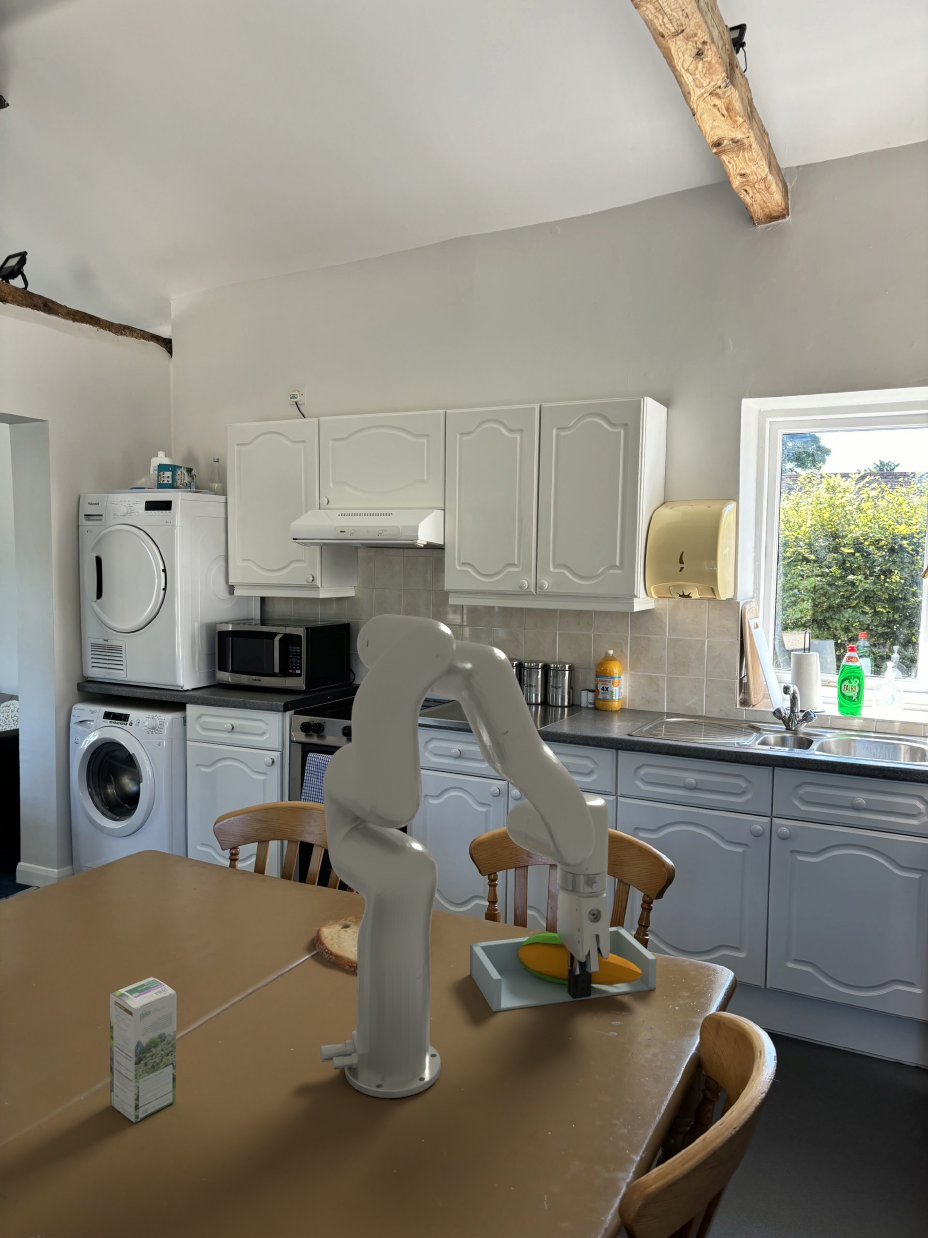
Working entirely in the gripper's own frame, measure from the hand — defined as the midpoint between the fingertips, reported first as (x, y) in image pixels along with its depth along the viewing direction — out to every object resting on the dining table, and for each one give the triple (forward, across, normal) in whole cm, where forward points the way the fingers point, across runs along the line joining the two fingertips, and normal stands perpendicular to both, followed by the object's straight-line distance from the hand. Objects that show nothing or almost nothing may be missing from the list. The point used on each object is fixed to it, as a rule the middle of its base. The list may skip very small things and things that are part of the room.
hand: (579, 995), depth 132 cm
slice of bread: (+2, +26, +29) cm, 39 cm away
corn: (+1, +5, -2) cm, 6 cm away
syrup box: (+2, -9, +62) cm, 63 cm away
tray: (+1, +7, 0) cm, 7 cm away
